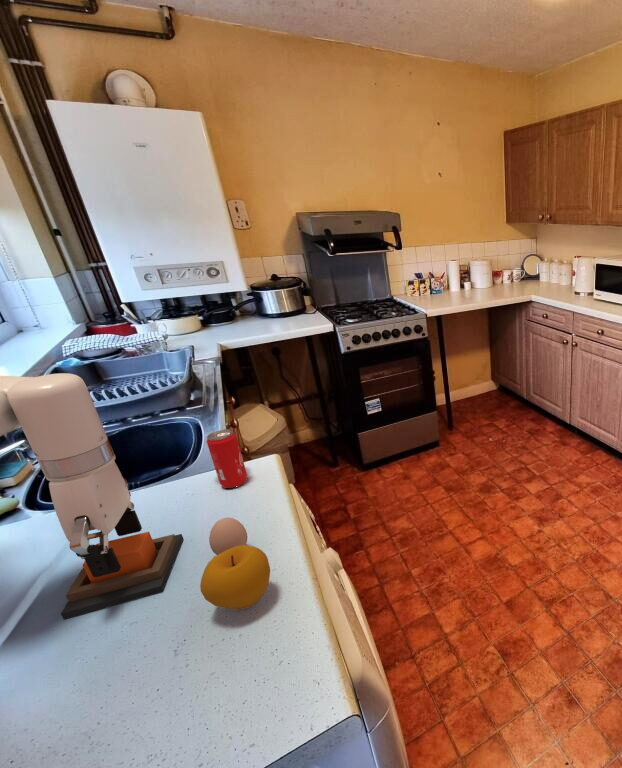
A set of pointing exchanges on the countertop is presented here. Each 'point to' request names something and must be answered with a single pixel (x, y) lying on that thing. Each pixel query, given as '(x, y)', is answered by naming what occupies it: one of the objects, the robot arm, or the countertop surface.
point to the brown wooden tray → (123, 582)
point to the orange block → (129, 555)
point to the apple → (236, 578)
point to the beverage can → (227, 458)
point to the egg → (227, 535)
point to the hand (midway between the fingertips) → (119, 551)
